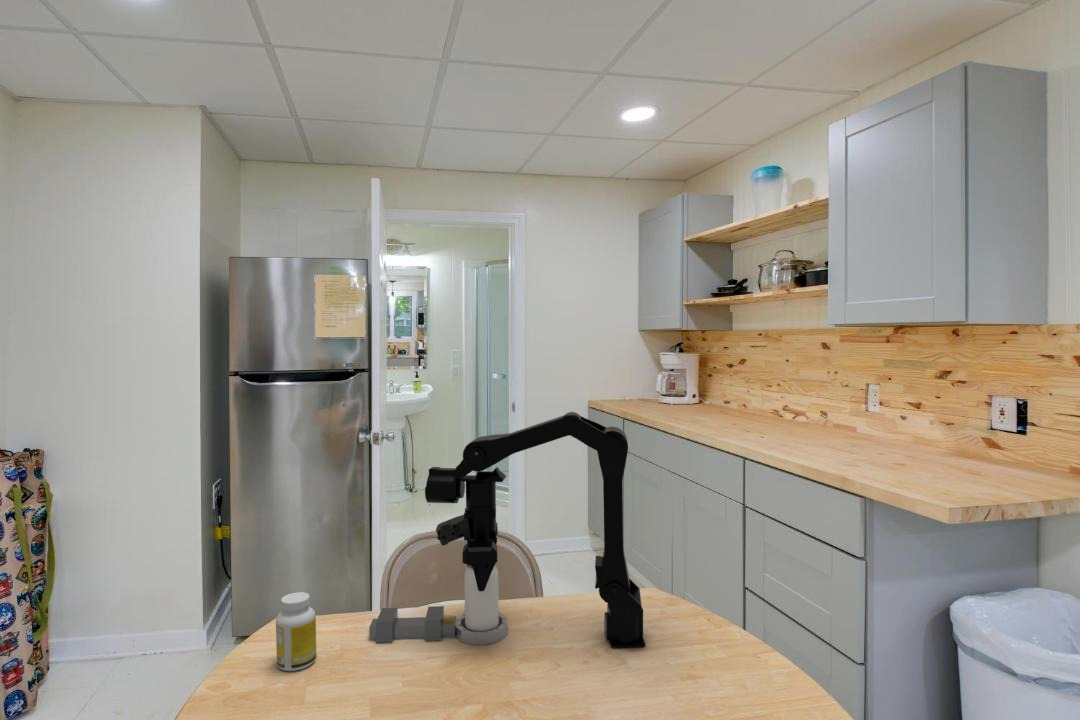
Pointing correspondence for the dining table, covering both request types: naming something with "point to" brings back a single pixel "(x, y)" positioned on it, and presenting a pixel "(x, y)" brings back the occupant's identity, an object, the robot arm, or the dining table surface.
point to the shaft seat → (431, 628)
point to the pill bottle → (296, 632)
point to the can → (481, 602)
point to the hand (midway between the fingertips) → (481, 583)
